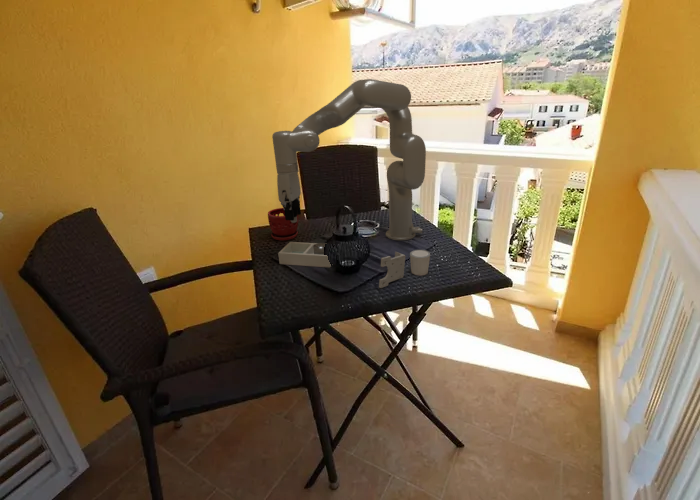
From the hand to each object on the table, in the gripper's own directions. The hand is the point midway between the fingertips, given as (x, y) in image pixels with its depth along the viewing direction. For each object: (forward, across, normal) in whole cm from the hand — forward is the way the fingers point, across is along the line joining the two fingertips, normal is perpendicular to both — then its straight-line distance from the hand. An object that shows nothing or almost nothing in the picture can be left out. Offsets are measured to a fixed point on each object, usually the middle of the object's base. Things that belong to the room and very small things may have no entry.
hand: (293, 216), depth 138 cm
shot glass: (+17, +4, +47) cm, 50 cm away
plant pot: (+17, -21, -14) cm, 31 cm away
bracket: (+17, +12, +37) cm, 43 cm away
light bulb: (+3, 0, 0) cm, 3 cm away
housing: (+17, 0, +5) cm, 18 cm away
